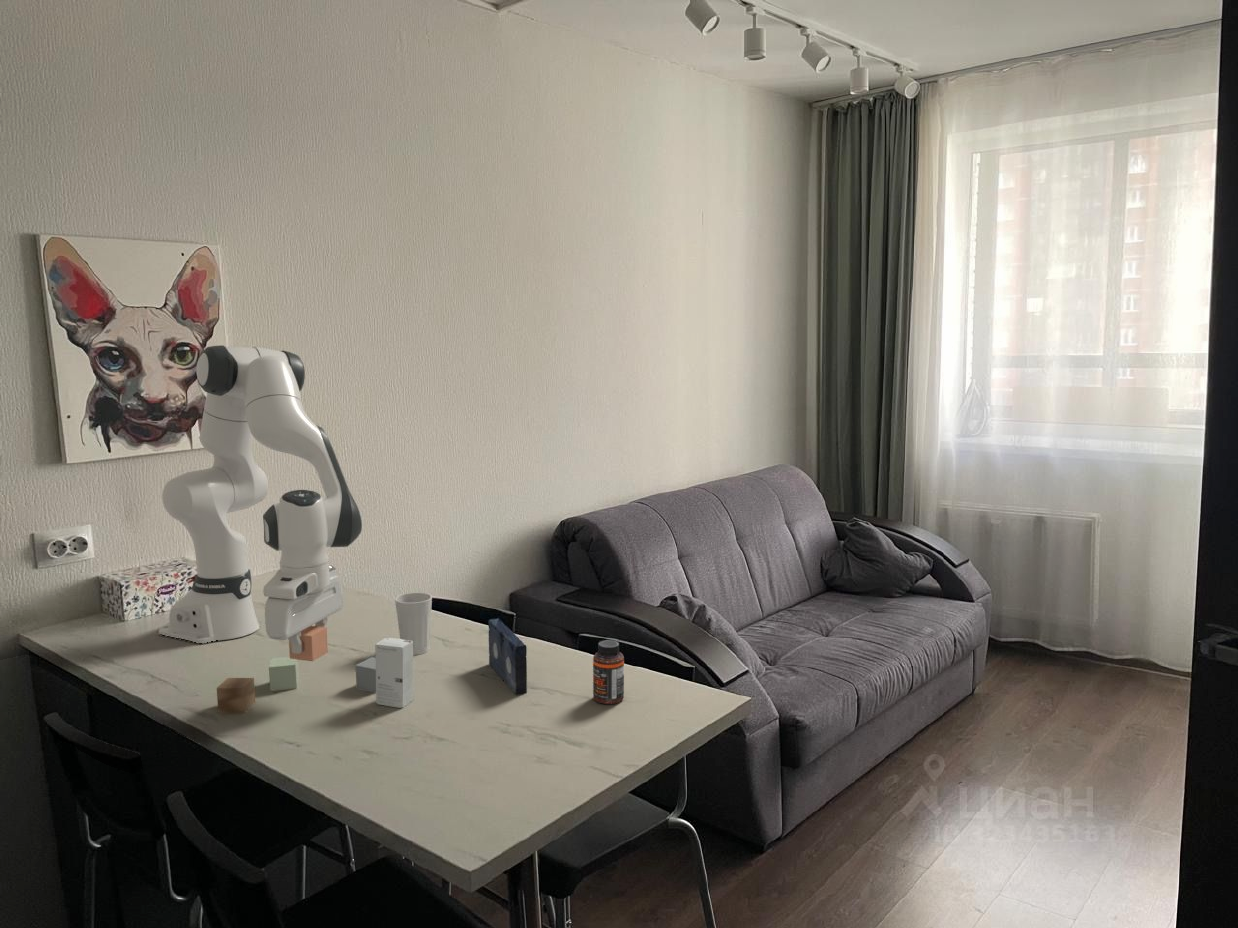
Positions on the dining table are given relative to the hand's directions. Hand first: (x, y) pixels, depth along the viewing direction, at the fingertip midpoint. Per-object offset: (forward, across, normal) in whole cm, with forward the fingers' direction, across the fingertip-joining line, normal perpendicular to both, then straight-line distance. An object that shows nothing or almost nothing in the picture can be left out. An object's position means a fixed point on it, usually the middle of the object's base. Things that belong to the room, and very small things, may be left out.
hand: (308, 646), depth 181 cm
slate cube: (+11, -9, +9) cm, 16 cm away
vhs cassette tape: (+11, -20, +32) cm, 40 cm away
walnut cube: (+11, +7, -11) cm, 17 cm away
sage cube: (+11, -5, -9) cm, 15 cm away
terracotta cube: (+2, 0, 0) cm, 2 cm away
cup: (+11, -30, +6) cm, 33 cm away
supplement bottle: (+10, -15, +56) cm, 58 cm away
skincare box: (+11, -3, +17) cm, 20 cm away
